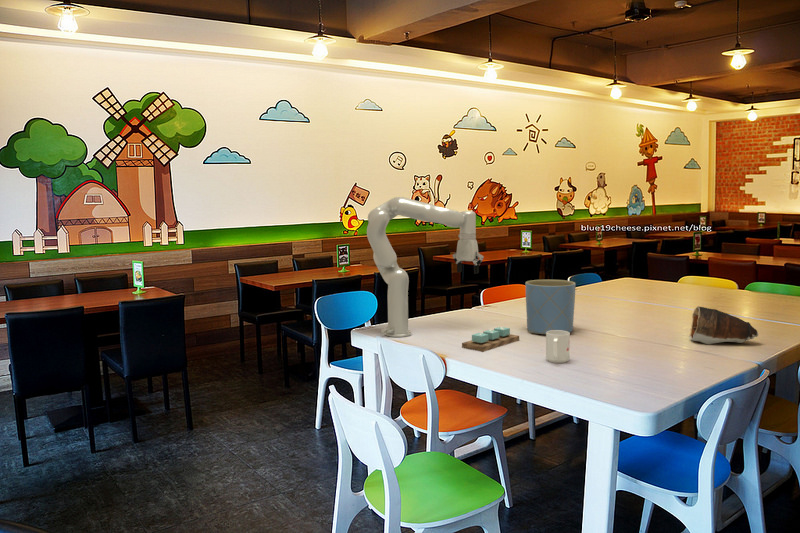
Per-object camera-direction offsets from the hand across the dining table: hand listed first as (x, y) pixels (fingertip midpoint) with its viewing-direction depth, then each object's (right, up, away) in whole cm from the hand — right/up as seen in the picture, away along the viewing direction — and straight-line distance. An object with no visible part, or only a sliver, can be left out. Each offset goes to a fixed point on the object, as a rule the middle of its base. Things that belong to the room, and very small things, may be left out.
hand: (467, 272), depth 289 cm
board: (+7, -31, -27) cm, 41 cm away
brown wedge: (+106, -30, -32) cm, 114 cm away
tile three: (+13, -27, -21) cm, 37 cm away
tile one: (+2, -29, -33) cm, 44 cm away
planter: (+38, -28, -5) cm, 48 cm away
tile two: (+7, -28, -27) cm, 40 cm away
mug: (+28, -34, -57) cm, 72 cm away
